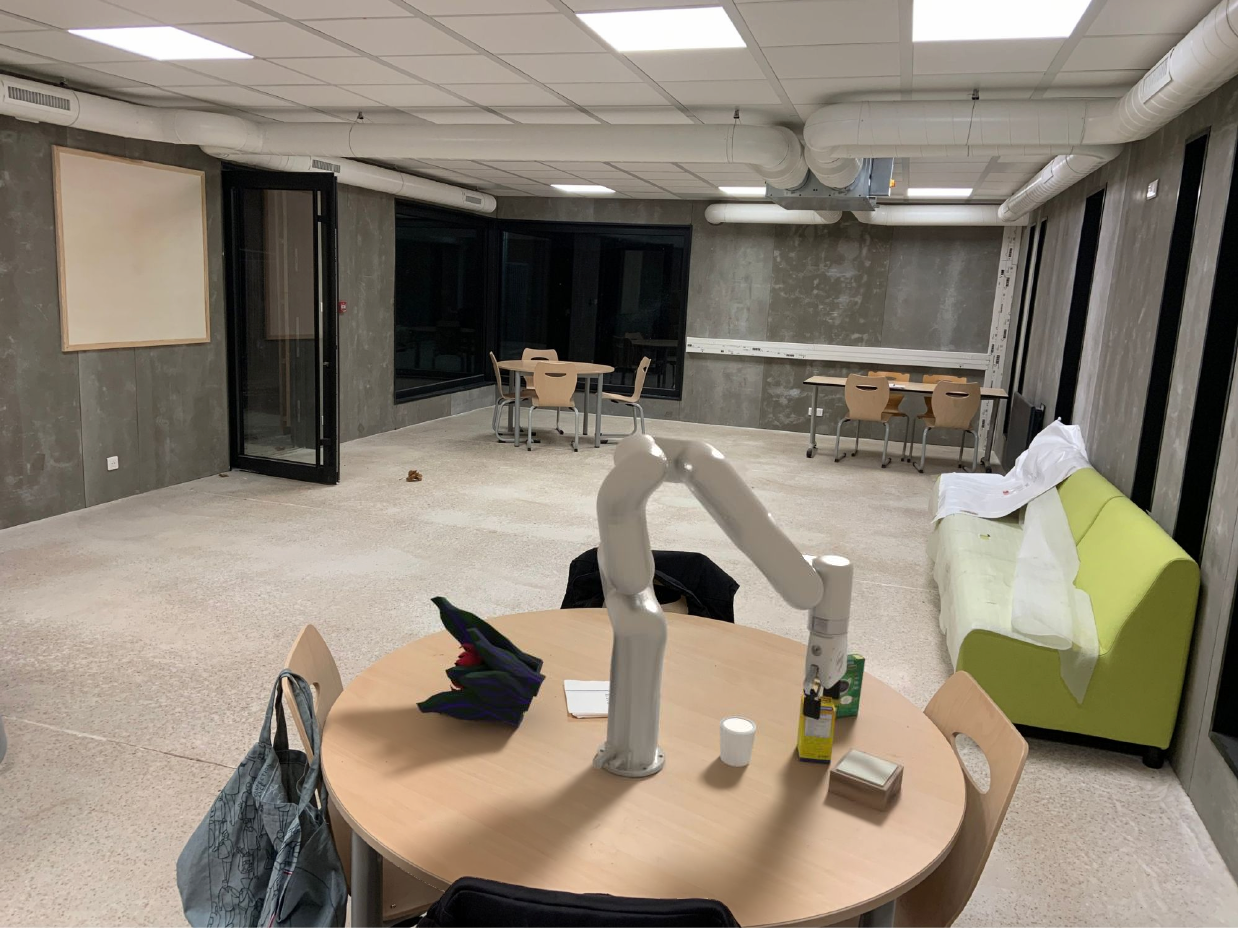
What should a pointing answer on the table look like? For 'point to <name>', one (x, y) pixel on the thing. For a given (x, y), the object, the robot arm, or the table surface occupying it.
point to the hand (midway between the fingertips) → (821, 706)
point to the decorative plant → (484, 672)
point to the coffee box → (850, 687)
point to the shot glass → (736, 740)
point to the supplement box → (816, 733)
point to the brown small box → (866, 779)
